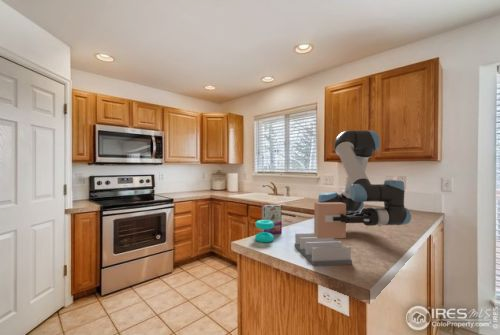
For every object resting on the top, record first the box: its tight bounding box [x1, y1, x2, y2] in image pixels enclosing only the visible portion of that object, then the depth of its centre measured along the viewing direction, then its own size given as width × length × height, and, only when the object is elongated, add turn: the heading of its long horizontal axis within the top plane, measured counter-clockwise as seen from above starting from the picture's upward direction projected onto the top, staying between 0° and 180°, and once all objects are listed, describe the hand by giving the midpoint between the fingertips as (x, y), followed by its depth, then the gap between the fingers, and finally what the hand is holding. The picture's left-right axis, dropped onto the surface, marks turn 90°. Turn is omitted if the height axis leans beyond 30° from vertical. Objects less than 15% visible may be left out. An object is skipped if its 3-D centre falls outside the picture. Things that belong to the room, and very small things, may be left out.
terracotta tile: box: [313, 202, 347, 239], centre depth 99 cm, size 4×12×14 cm, turn 98°
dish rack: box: [294, 232, 353, 267], centre depth 106 cm, size 24×16×6 cm, turn 7°
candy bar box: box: [261, 204, 283, 235], centre depth 141 cm, size 11×5×16 cm, turn 105°
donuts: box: [254, 219, 275, 243], centre depth 126 cm, size 10×10×10 cm
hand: (322, 217), depth 99 cm, fingers closed on terracotta tile, 4 cm apart
